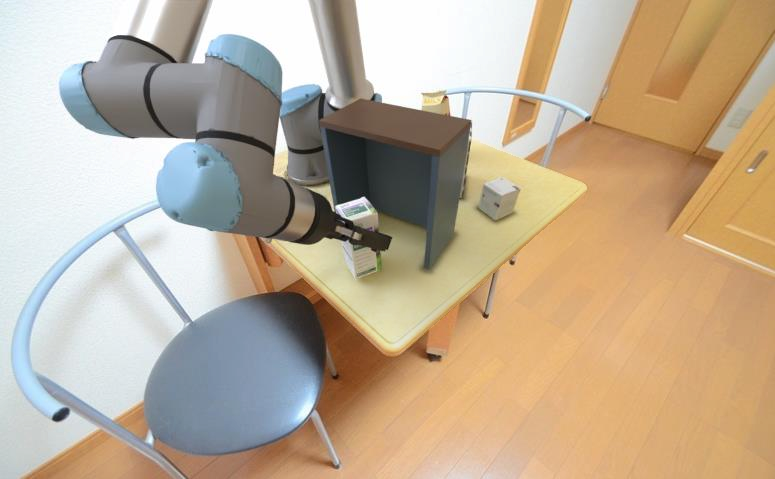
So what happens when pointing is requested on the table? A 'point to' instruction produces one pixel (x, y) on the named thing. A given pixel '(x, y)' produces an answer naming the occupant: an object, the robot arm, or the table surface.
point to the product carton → (498, 198)
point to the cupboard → (399, 164)
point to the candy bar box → (466, 162)
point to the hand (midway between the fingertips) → (370, 235)
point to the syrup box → (356, 255)
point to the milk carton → (436, 103)
